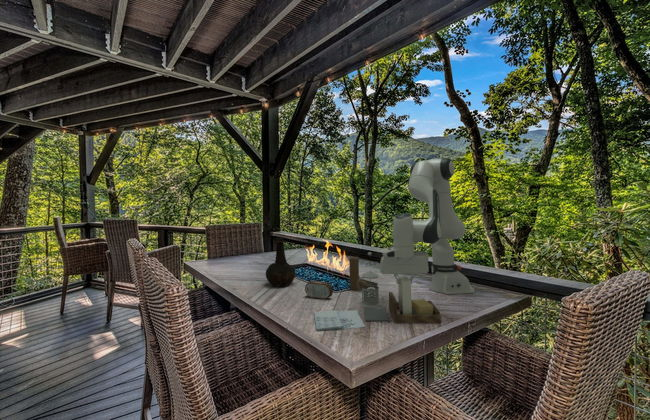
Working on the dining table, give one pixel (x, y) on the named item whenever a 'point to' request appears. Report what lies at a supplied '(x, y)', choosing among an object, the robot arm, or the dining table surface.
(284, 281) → the dark brown vase
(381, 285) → the dining table surface
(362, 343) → the dining table surface
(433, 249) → the robot arm
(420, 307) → the offcut upper
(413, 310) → the offcut lower
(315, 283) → the tin
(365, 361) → the dining table surface
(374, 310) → the pad
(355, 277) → the wooden block
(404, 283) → the pale grey rectangular block
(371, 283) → the french press
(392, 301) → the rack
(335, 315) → the light flat printed piece
